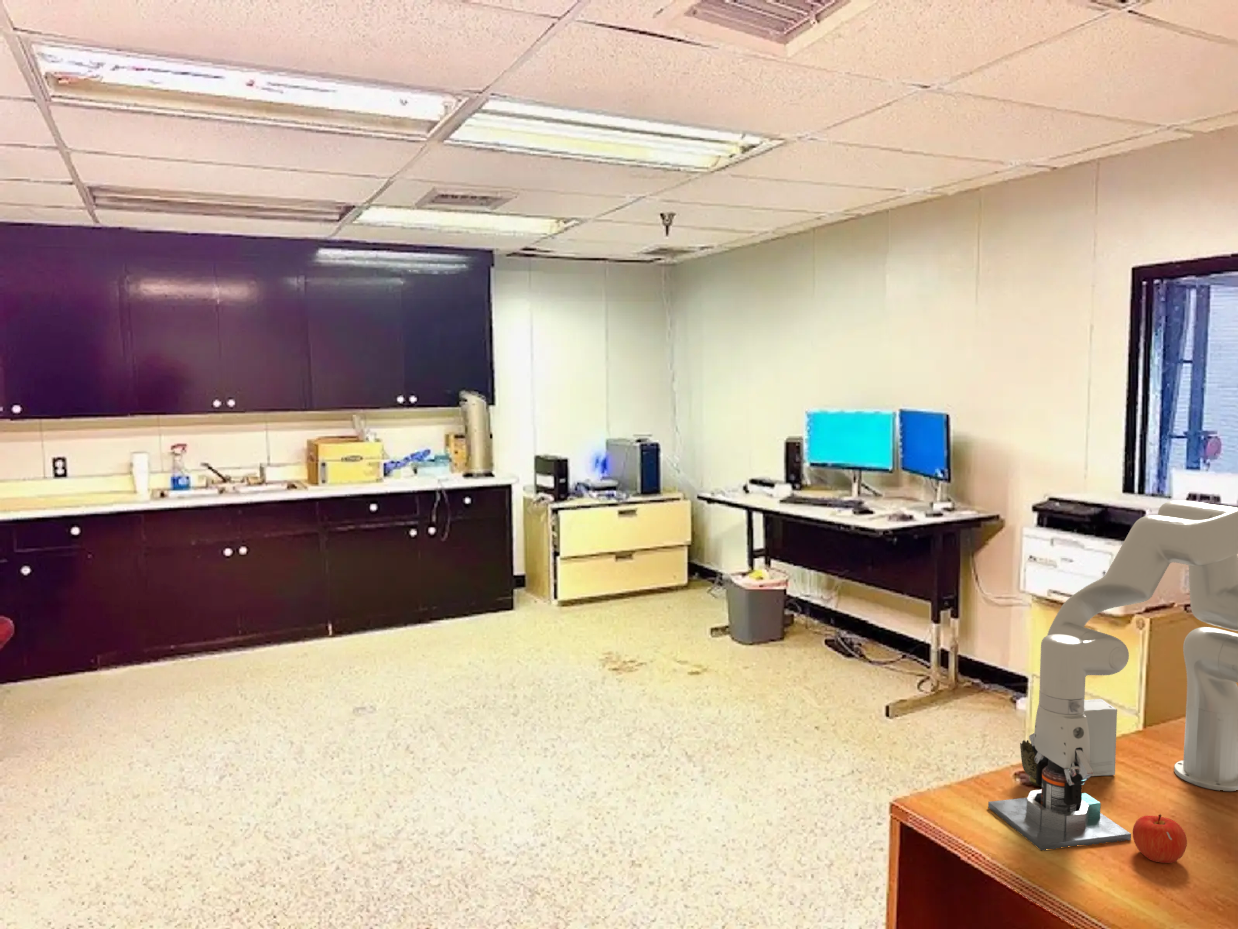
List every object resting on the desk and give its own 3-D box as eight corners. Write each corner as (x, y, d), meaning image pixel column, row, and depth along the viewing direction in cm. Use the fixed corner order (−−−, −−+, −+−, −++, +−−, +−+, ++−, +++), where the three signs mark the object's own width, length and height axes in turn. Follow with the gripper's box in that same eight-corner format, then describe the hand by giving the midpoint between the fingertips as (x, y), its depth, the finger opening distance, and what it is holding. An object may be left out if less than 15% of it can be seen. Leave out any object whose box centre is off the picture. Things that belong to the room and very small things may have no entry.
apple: (1194, 872, 148) (1196, 827, 147) (1142, 868, 149) (1144, 824, 148) (1173, 847, 156) (1175, 804, 155) (1124, 844, 157) (1126, 801, 156)
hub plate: (1070, 798, 174) (1071, 778, 174) (1130, 840, 158) (1131, 818, 158) (988, 807, 171) (988, 787, 170) (1041, 851, 155) (1042, 828, 155)
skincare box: (1099, 764, 189) (1102, 697, 187) (1116, 777, 183) (1119, 708, 181) (1061, 765, 189) (1064, 698, 187) (1077, 778, 183) (1080, 709, 181)
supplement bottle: (1044, 806, 169) (1046, 750, 167) (1078, 815, 165) (1080, 757, 164) (1037, 819, 164) (1039, 761, 163) (1072, 828, 160) (1075, 769, 159)
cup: (1050, 776, 184) (1051, 739, 183) (1064, 792, 176) (1066, 754, 176) (1013, 775, 184) (1014, 738, 184) (1026, 791, 177) (1027, 753, 176)
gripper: (1113, 718, 154) (1109, 814, 156) (1048, 684, 171) (1045, 771, 173) (1075, 722, 153) (1072, 818, 155) (1014, 687, 170) (1011, 775, 172)
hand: (1058, 793), depth 164 cm, fingers open, 7 cm apart
